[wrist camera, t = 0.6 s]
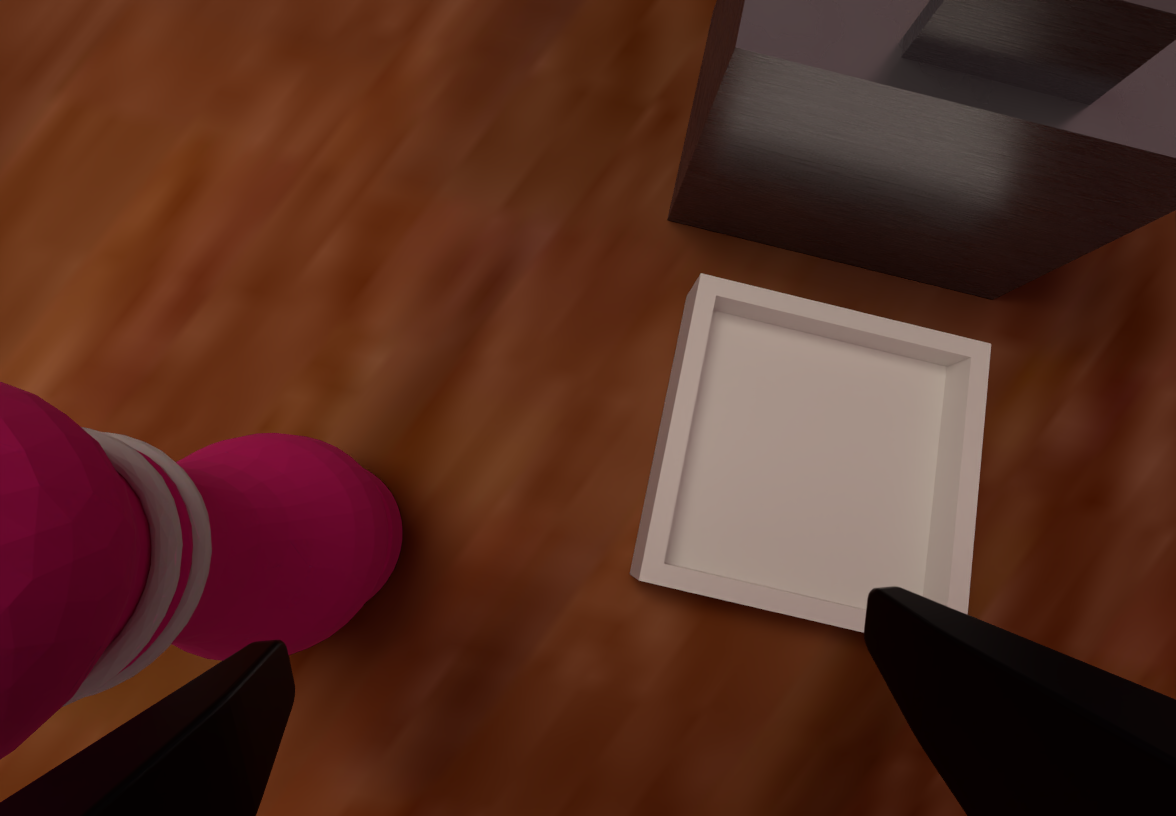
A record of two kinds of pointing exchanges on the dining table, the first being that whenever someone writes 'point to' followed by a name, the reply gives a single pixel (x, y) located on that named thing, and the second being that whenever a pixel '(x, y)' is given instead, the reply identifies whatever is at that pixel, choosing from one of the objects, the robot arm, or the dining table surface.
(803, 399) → the tray
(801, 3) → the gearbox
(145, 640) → the pepper mill
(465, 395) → the dining table surface
